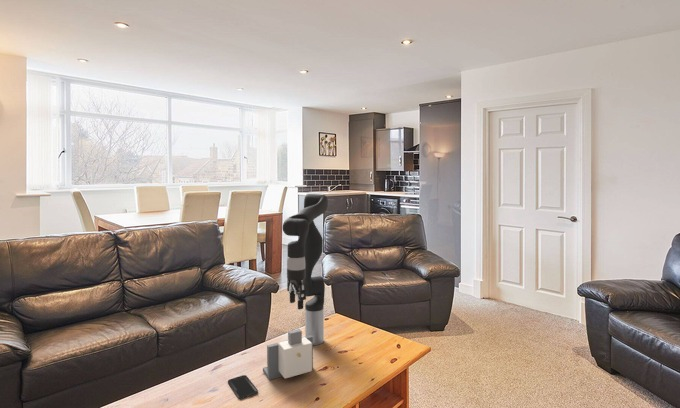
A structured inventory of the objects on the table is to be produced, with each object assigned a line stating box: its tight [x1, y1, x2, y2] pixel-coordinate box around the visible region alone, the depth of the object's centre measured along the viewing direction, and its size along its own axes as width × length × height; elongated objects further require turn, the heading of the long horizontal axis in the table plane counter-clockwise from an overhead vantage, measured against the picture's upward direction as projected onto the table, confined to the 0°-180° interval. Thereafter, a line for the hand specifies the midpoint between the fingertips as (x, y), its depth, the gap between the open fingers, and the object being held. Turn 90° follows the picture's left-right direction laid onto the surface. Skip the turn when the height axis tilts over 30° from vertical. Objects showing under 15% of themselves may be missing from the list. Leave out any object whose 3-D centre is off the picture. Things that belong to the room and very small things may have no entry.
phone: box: [227, 374, 259, 400], centre depth 148 cm, size 8×1×15 cm
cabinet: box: [277, 328, 313, 379], centre depth 154 cm, size 8×12×17 cm, turn 120°
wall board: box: [262, 335, 314, 381], centre depth 159 cm, size 12×20×14 cm, turn 120°
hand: (296, 305), depth 154 cm, fingers open, 8 cm apart
